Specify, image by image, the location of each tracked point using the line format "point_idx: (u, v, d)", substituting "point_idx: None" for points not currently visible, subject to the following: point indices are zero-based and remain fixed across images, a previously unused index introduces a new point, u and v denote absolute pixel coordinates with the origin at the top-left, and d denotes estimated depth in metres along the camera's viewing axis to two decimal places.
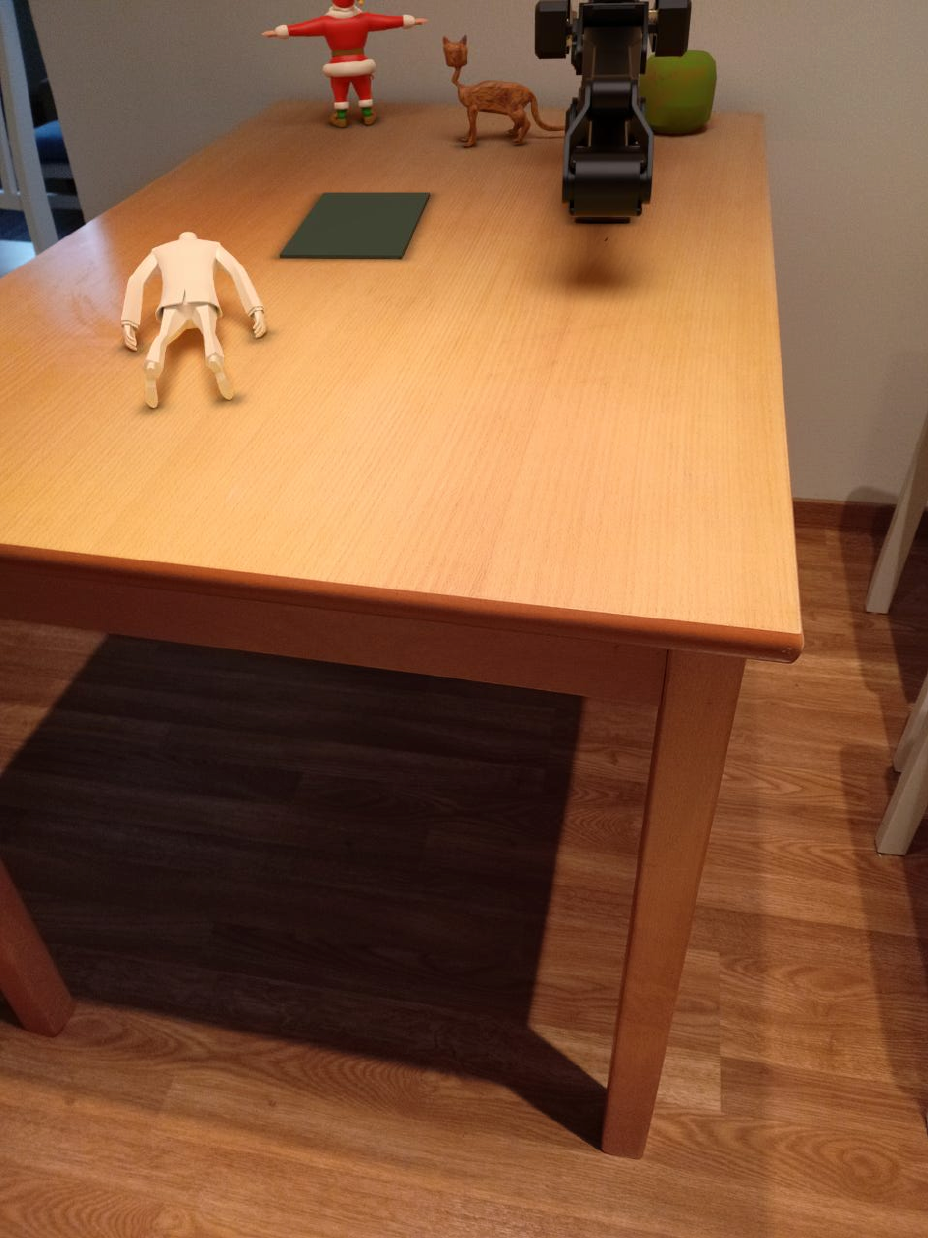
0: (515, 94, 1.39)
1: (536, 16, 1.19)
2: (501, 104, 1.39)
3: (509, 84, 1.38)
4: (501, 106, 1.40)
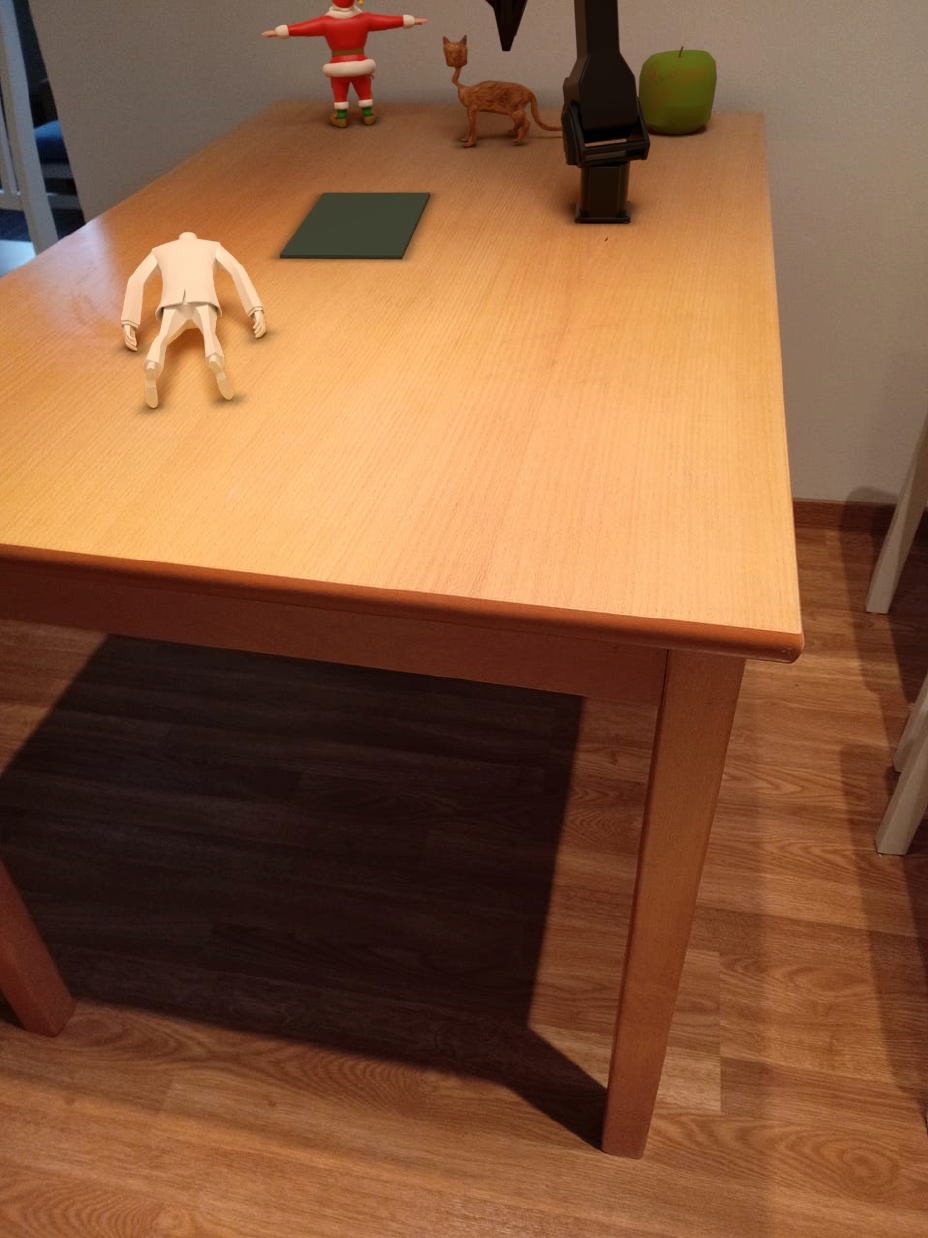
0: (515, 94, 1.39)
1: None
2: (501, 104, 1.39)
3: (509, 84, 1.38)
4: (501, 106, 1.40)
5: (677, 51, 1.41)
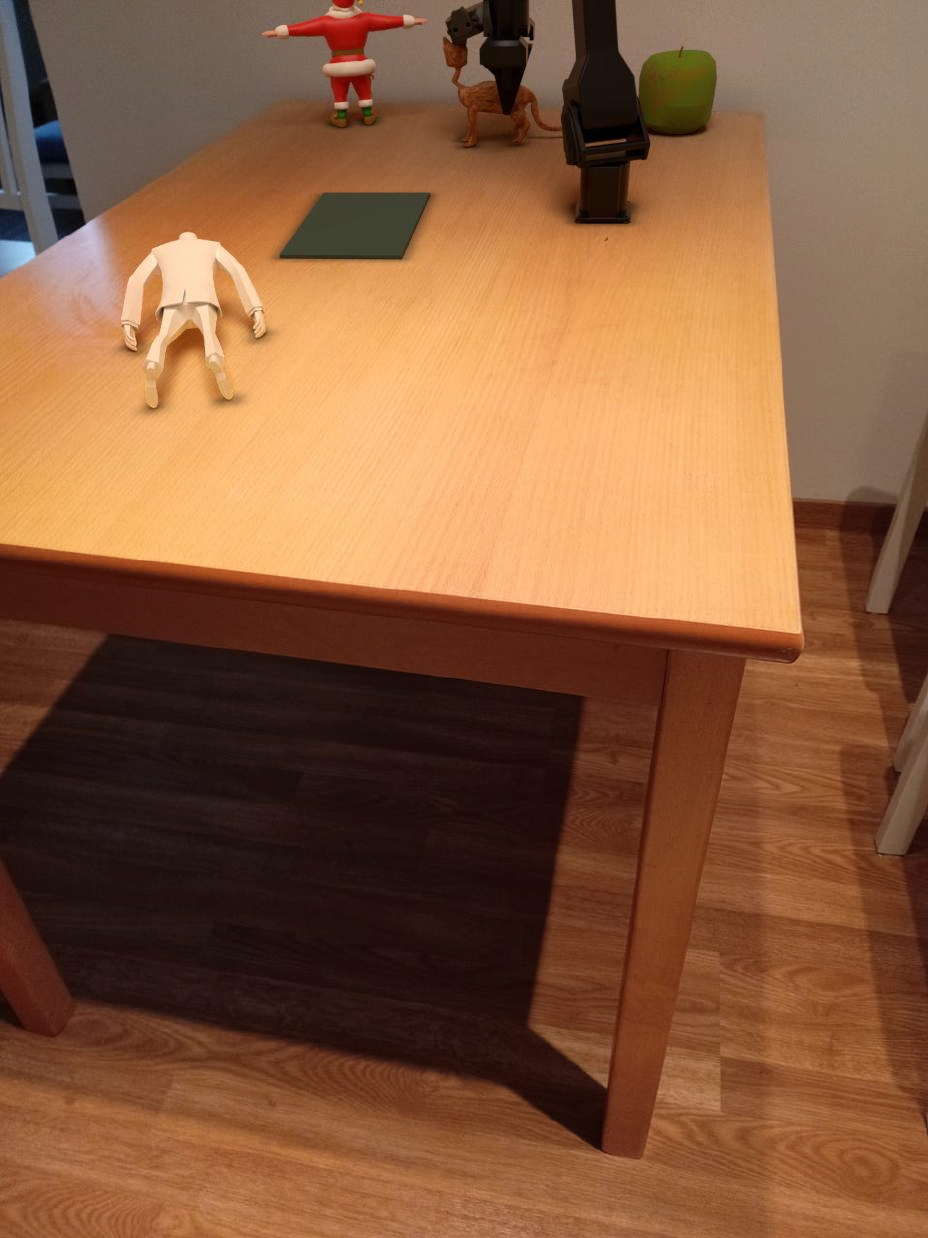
0: None
1: (490, 43, 1.28)
2: None
3: None
4: None
5: (677, 51, 1.41)
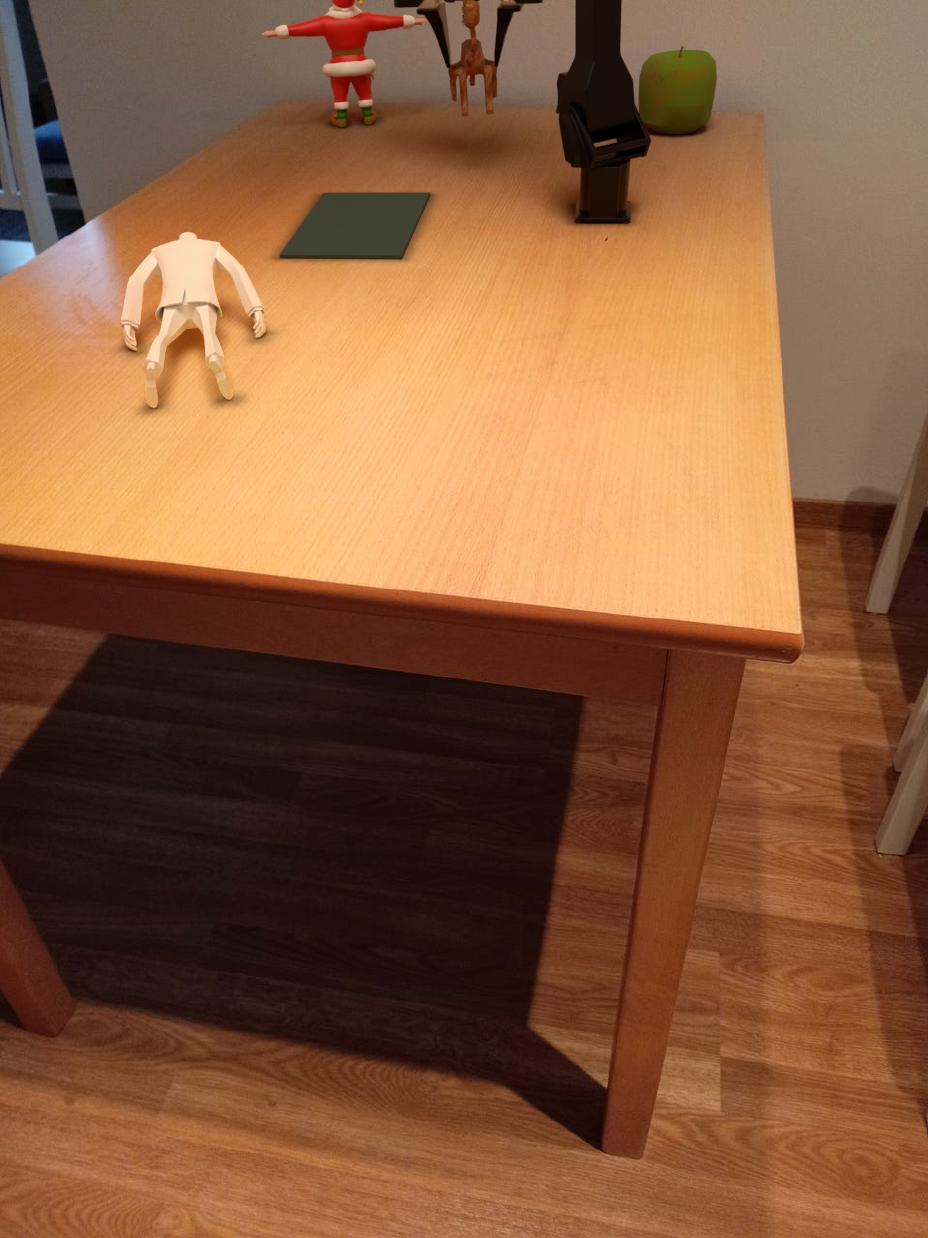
0: (481, 47, 1.28)
1: None
2: None
3: None
4: None
5: (677, 51, 1.41)
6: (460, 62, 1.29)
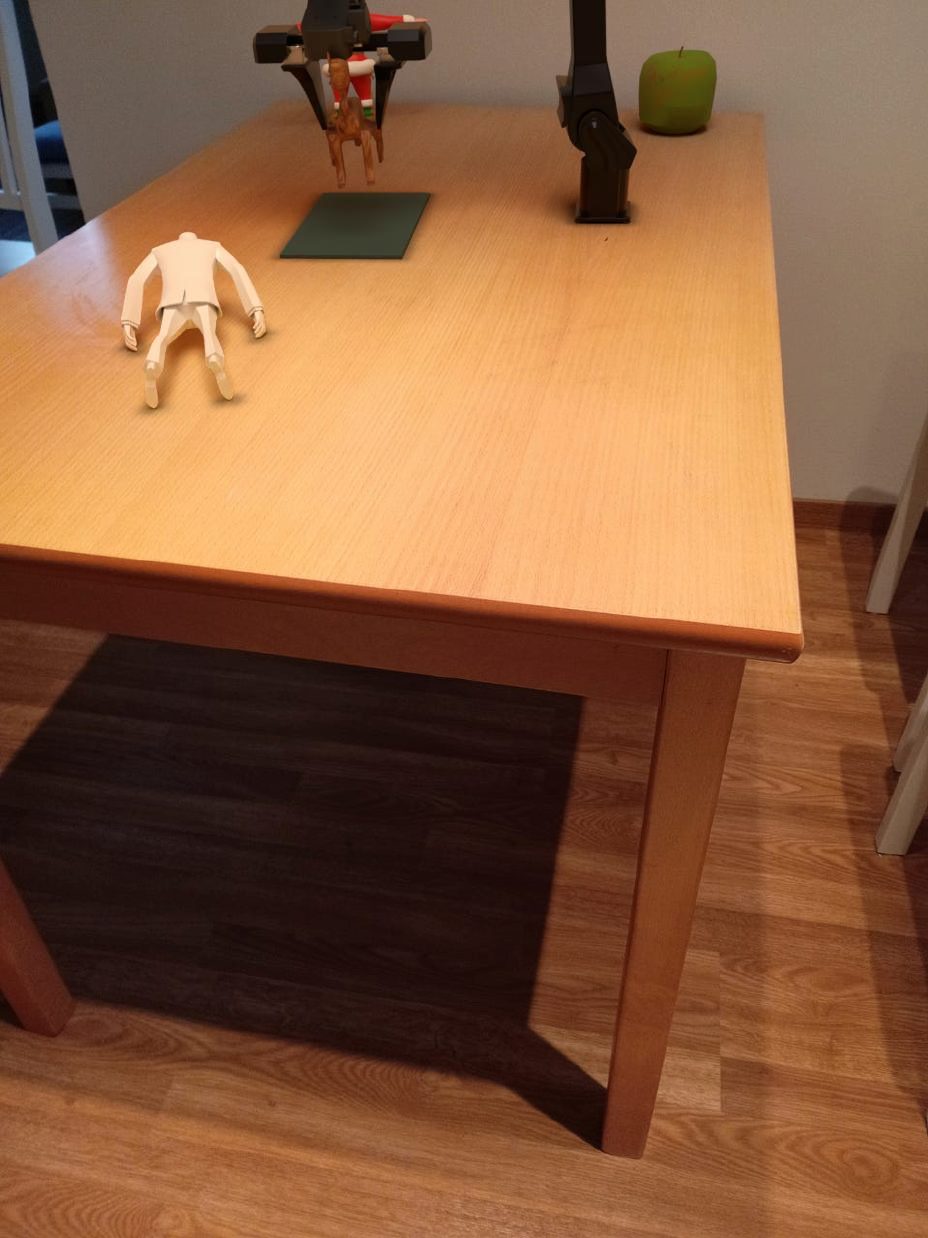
0: (361, 107, 1.11)
1: (423, 31, 1.03)
2: (361, 123, 1.10)
3: (353, 98, 1.10)
4: (361, 126, 1.10)
5: (677, 51, 1.41)
6: None
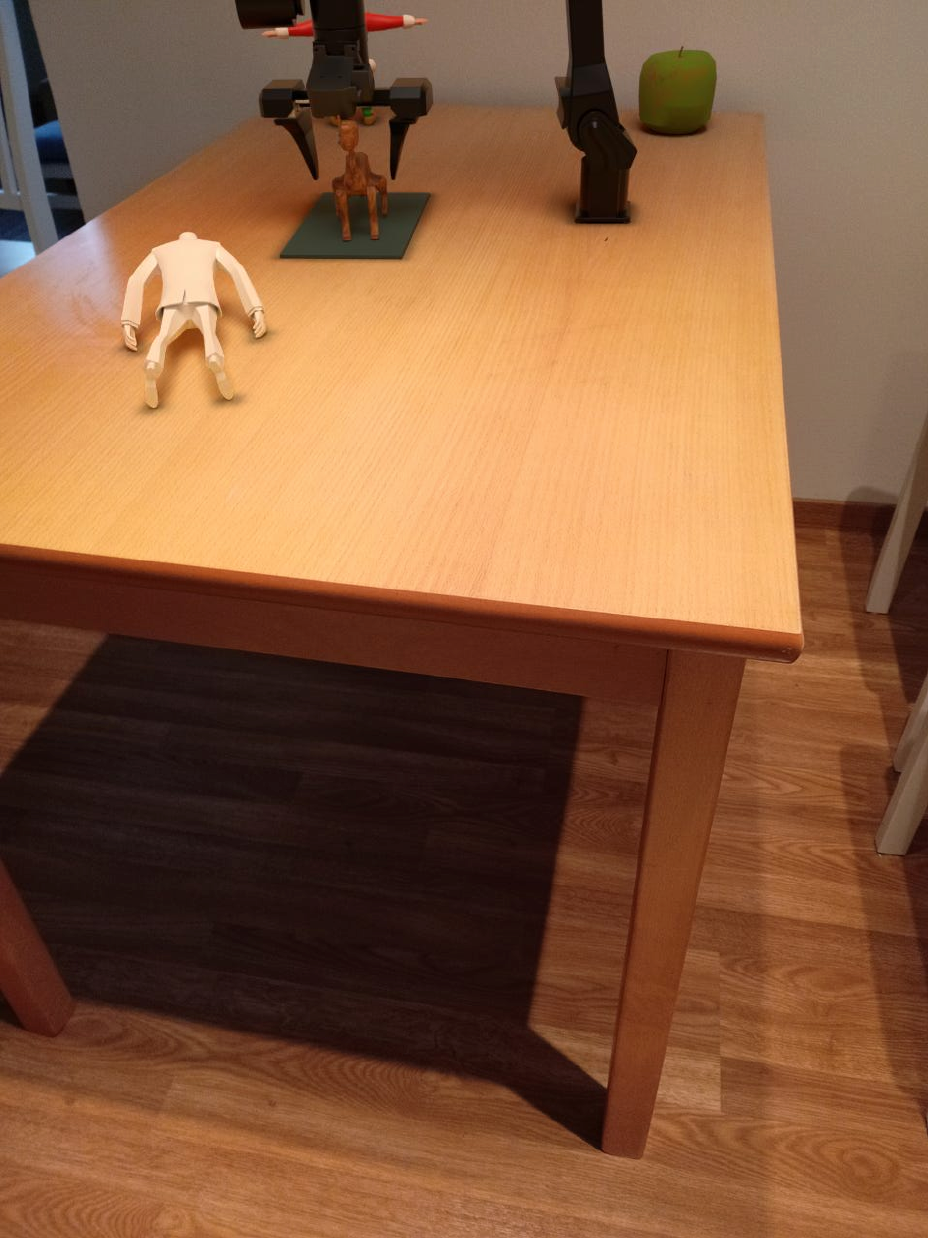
0: (367, 162, 1.14)
1: (424, 88, 1.06)
2: (366, 178, 1.14)
3: (360, 153, 1.13)
4: (367, 180, 1.14)
5: (677, 51, 1.41)
6: None
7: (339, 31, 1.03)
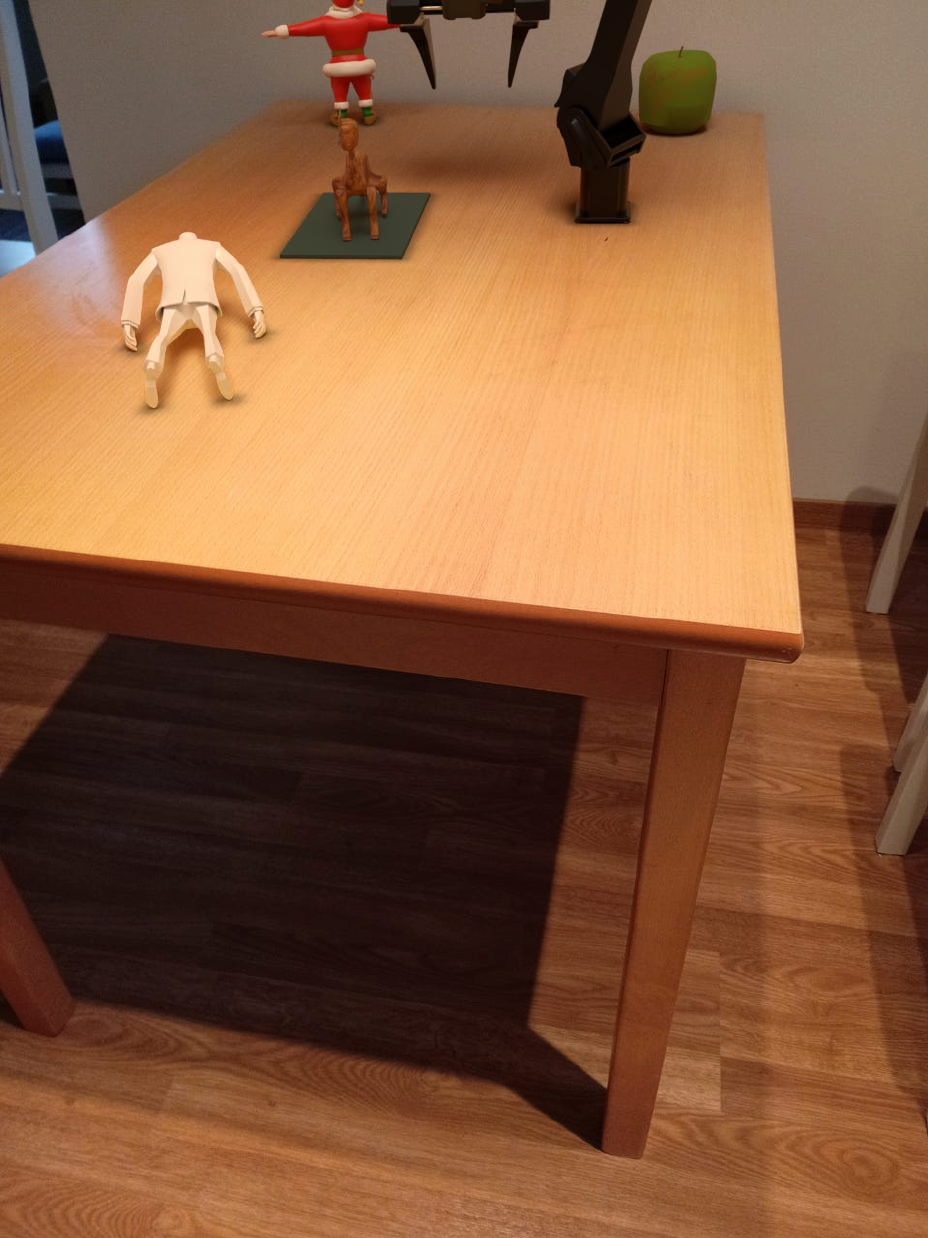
0: (367, 162, 1.14)
1: None
2: (366, 178, 1.14)
3: (360, 153, 1.13)
4: (367, 180, 1.14)
5: (677, 51, 1.41)
6: None
7: None
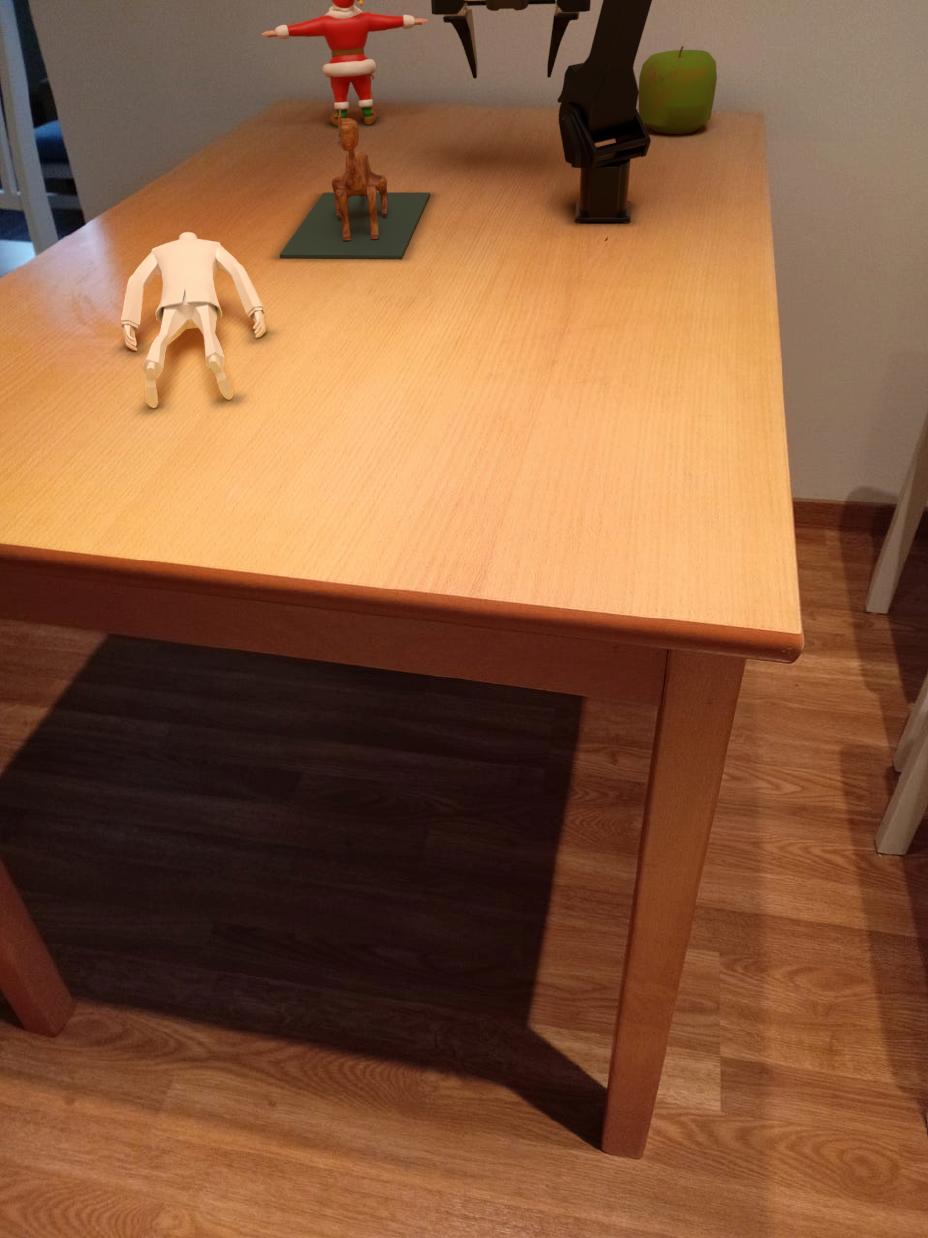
0: (367, 162, 1.14)
1: None
2: (366, 178, 1.14)
3: (360, 153, 1.13)
4: (367, 180, 1.14)
5: (677, 51, 1.41)
6: None
7: None
